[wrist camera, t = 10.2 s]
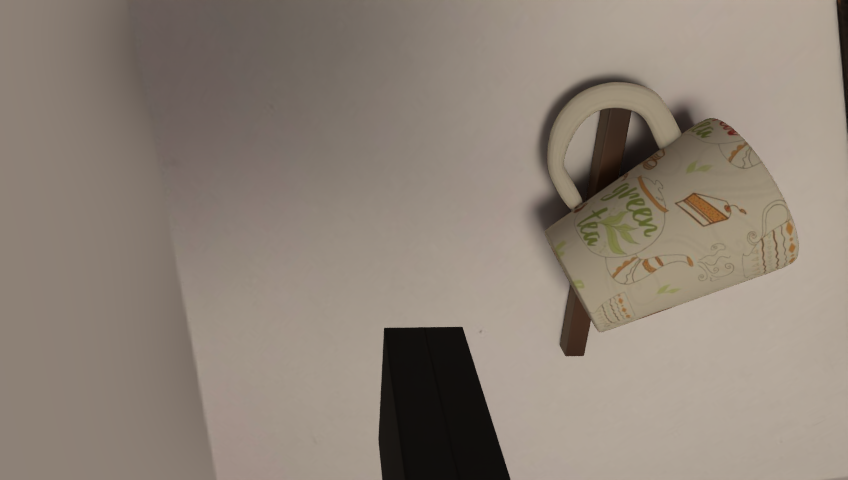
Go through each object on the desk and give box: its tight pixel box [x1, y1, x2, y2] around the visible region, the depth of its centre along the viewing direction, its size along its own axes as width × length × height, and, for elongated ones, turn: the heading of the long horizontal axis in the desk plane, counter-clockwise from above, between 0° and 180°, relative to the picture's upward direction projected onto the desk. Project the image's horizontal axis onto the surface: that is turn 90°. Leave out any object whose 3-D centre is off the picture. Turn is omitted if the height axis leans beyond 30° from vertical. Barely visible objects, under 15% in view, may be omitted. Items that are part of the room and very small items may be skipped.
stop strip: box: [560, 108, 632, 356], centre depth 40 cm, size 16×1×1 cm, turn 176°
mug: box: [545, 82, 799, 332], centre depth 37 cm, size 8×13×10 cm
